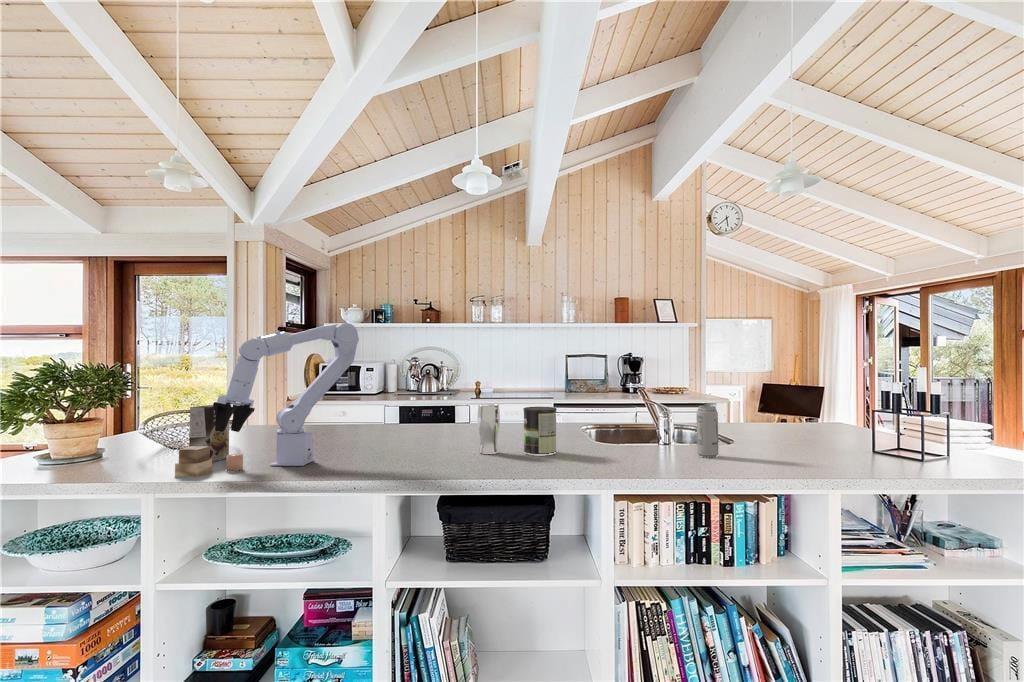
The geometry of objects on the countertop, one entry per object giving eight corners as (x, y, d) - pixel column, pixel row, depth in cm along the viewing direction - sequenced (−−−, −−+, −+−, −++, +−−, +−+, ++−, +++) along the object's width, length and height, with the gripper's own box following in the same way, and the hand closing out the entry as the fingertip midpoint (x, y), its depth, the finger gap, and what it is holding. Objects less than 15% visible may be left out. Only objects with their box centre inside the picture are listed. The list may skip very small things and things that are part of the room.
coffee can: (521, 456, 165) (521, 409, 166) (525, 450, 175) (525, 406, 176) (555, 456, 164) (555, 409, 164) (557, 450, 174) (557, 406, 174)
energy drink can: (718, 459, 159) (717, 407, 160) (696, 457, 161) (695, 406, 162) (718, 455, 165) (717, 405, 165) (697, 454, 167) (697, 405, 167)
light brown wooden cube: (245, 468, 148) (246, 453, 149) (237, 471, 144) (238, 456, 145) (231, 468, 149) (231, 453, 149) (223, 471, 145) (223, 456, 145)
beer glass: (499, 455, 167) (499, 406, 167) (476, 455, 167) (476, 406, 167) (500, 451, 174) (500, 404, 174) (478, 451, 174) (478, 404, 174)
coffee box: (207, 463, 155) (208, 406, 156) (187, 463, 156) (188, 406, 157) (230, 457, 164) (230, 404, 164) (211, 457, 165) (212, 403, 166)
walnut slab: (209, 459, 144) (209, 446, 144) (197, 463, 139) (197, 449, 139) (191, 459, 145) (192, 446, 145) (178, 463, 140) (178, 449, 140)
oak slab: (211, 472, 145) (212, 459, 145) (197, 477, 139) (197, 463, 139) (190, 472, 145) (190, 459, 145) (174, 477, 139) (175, 463, 139)
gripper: (242, 381, 157) (228, 428, 155) (213, 376, 143) (197, 427, 140) (265, 386, 156) (251, 433, 154) (238, 381, 142) (222, 433, 140)
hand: (227, 431), depth 147 cm, fingers open, 7 cm apart
